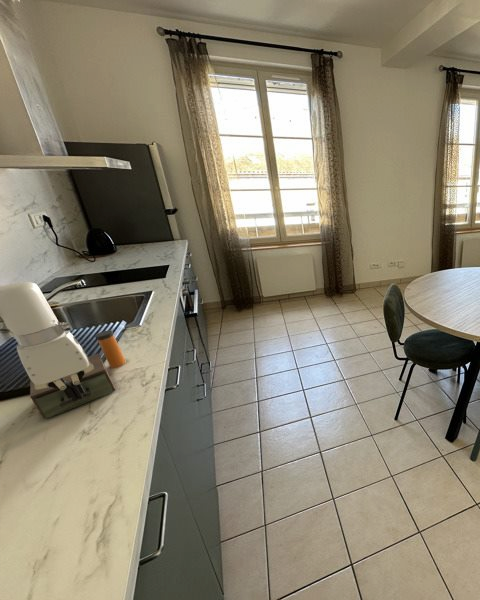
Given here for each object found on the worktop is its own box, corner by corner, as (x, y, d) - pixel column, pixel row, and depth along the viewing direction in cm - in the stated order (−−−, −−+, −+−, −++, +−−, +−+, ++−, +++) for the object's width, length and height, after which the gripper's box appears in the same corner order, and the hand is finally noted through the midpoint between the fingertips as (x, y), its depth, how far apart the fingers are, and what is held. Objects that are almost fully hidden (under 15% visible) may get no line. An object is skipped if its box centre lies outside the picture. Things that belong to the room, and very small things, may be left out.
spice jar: (128, 365, 106) (113, 332, 101) (111, 371, 103) (95, 338, 99) (125, 360, 109) (111, 328, 104) (109, 366, 106) (94, 334, 101)
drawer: (115, 398, 89) (106, 380, 87) (47, 426, 80) (35, 408, 78) (106, 375, 100) (98, 359, 98) (45, 397, 91) (35, 380, 89)
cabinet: (116, 391, 93) (105, 369, 90) (45, 420, 84) (30, 396, 81) (109, 373, 102) (98, 353, 99) (43, 398, 93) (30, 376, 90)
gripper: (81, 318, 83) (113, 377, 90) (-6, 343, 74) (37, 407, 81) (83, 326, 78) (117, 388, 85) (-10, 354, 69) (36, 421, 76)
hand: (78, 397), depth 83 cm, fingers closed
